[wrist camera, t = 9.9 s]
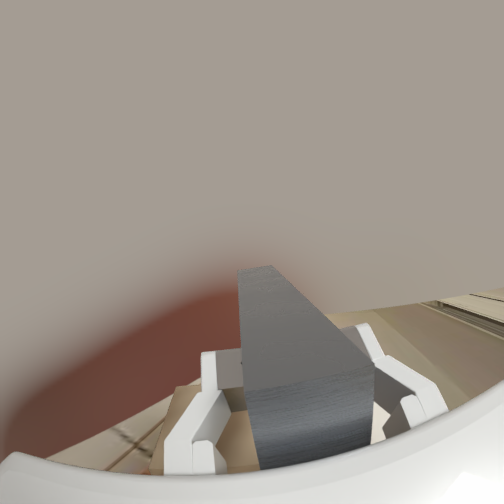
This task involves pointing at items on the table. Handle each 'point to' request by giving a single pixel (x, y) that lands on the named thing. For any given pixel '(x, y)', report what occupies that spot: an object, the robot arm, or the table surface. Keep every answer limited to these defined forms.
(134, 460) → the table surface
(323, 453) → the rod
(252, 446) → the tall stand
